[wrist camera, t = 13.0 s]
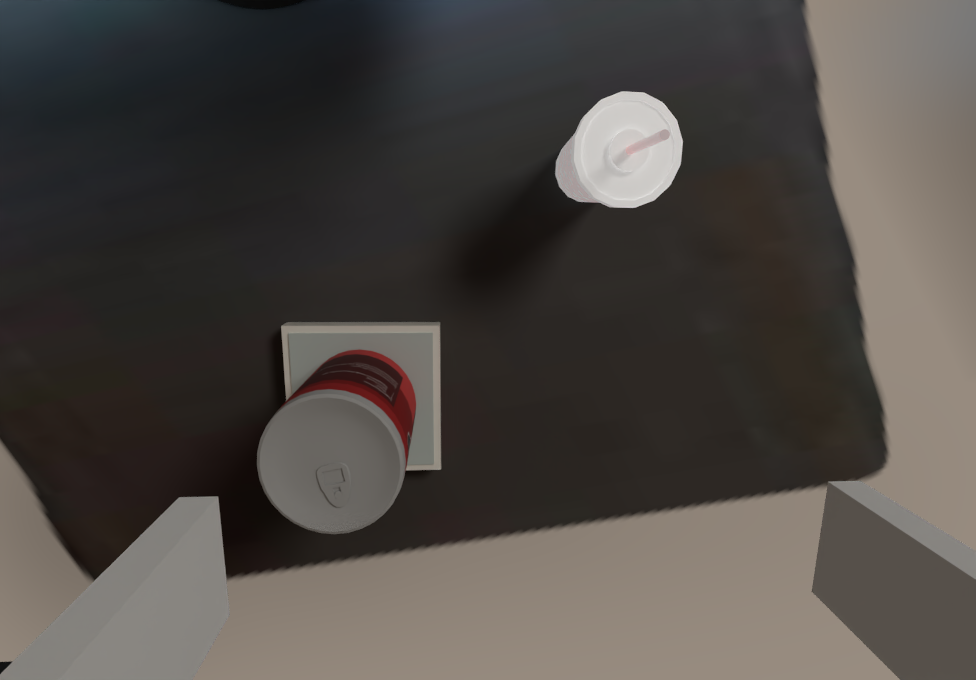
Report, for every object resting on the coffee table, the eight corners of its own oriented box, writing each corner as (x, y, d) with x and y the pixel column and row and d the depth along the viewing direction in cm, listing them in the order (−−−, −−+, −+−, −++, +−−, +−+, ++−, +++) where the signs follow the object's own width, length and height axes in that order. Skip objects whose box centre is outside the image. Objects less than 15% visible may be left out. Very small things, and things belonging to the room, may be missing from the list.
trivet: (287, 322, 39) (280, 326, 37) (440, 321, 39) (439, 325, 38) (296, 464, 41) (290, 473, 39) (441, 461, 42) (440, 470, 40)
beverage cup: (602, 106, 37) (692, 33, 23) (644, 183, 38) (752, 158, 25) (528, 154, 37) (573, 110, 24) (571, 229, 39) (638, 229, 25)
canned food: (343, 468, 39) (303, 558, 29) (288, 375, 38) (224, 433, 27) (436, 424, 39) (431, 497, 28) (385, 328, 37) (359, 367, 27)
